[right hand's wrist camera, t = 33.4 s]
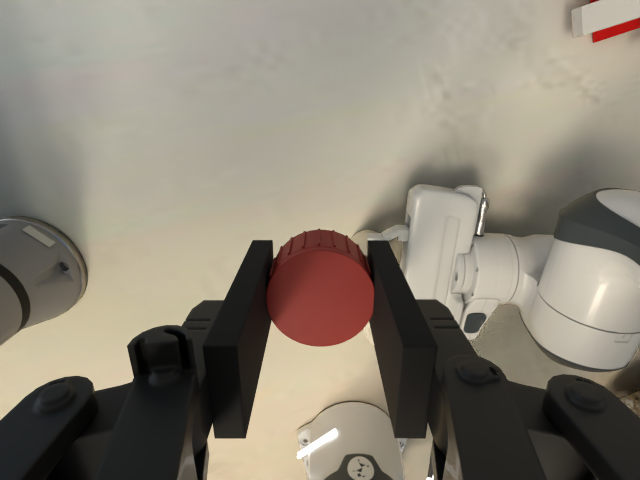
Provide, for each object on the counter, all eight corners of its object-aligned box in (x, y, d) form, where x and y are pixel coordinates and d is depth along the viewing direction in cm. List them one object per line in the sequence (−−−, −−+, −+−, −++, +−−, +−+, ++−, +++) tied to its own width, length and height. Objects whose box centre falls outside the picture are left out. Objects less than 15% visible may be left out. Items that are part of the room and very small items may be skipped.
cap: (333, 208, 14) (335, 226, 12) (388, 285, 15) (398, 313, 13) (251, 262, 14) (240, 288, 12) (309, 331, 15) (307, 365, 14)
